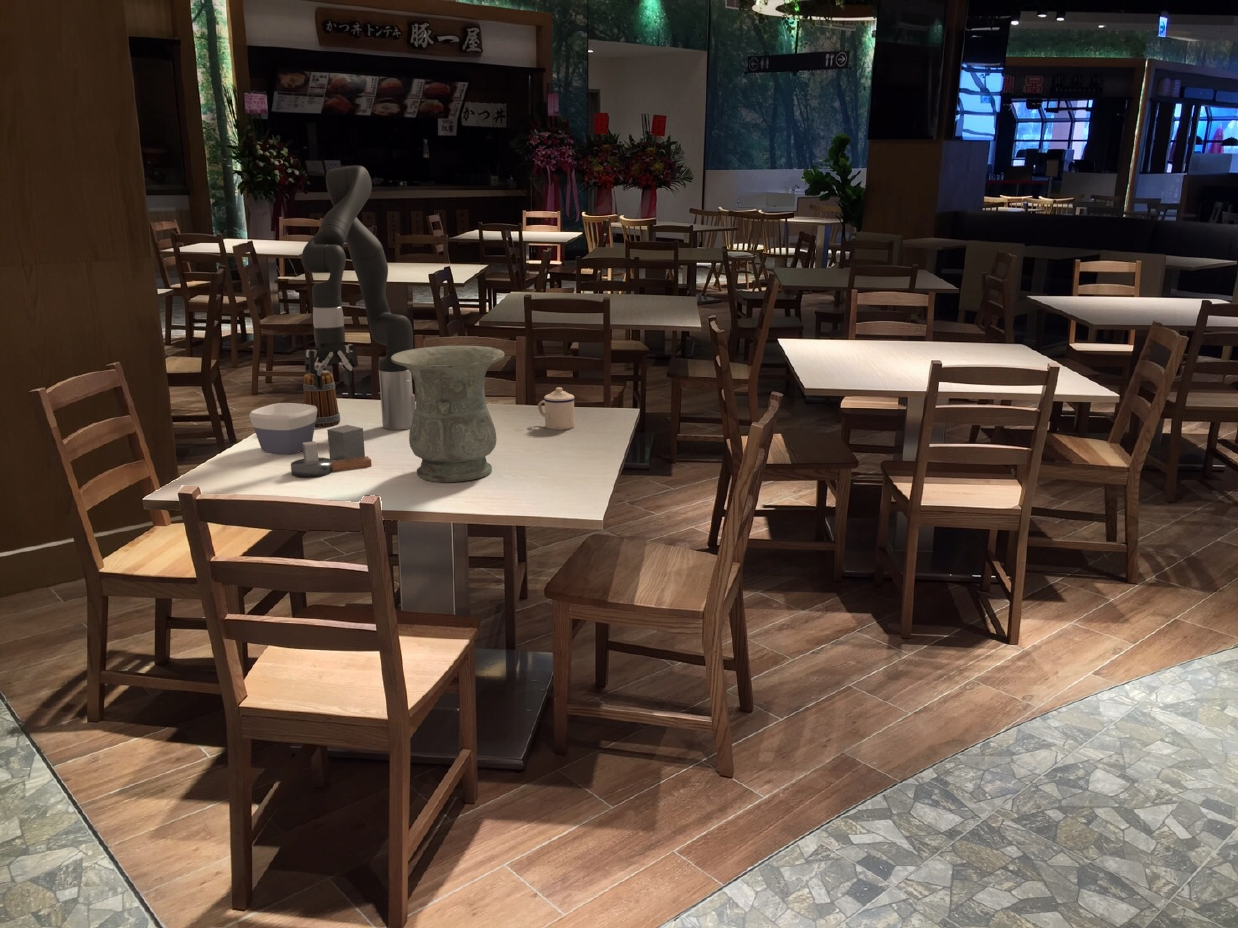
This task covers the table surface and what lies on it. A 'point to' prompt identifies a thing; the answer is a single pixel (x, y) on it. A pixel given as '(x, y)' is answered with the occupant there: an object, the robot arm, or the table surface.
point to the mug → (322, 399)
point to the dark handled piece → (323, 463)
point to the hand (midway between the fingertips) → (333, 387)
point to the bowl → (284, 426)
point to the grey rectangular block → (346, 442)
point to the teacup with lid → (558, 410)
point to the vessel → (451, 411)
